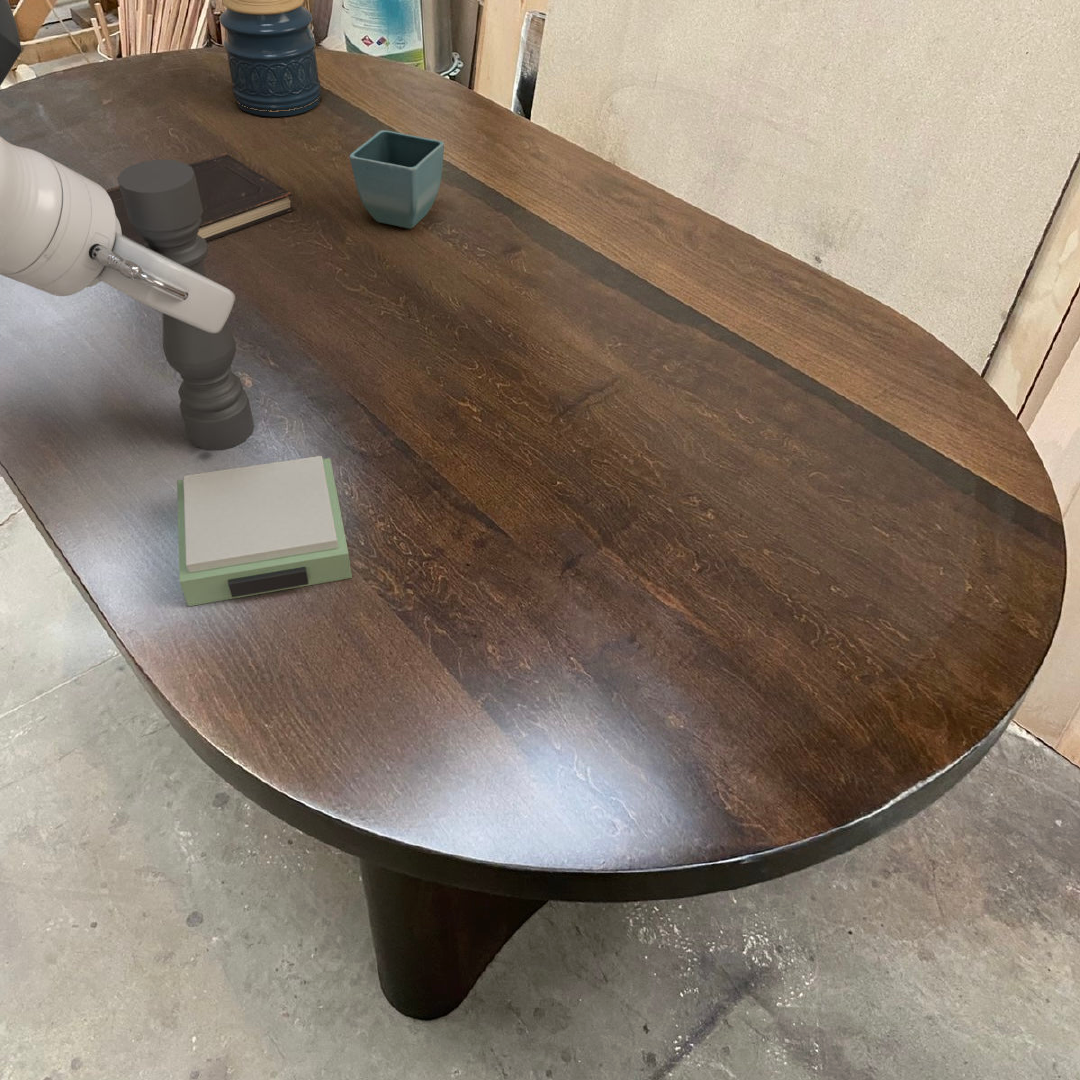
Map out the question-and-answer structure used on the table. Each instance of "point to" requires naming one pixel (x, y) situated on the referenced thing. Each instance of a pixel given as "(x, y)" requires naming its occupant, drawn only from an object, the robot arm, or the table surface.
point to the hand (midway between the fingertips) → (192, 293)
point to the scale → (259, 530)
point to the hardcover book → (222, 198)
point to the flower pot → (398, 176)
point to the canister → (271, 56)
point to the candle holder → (200, 357)
